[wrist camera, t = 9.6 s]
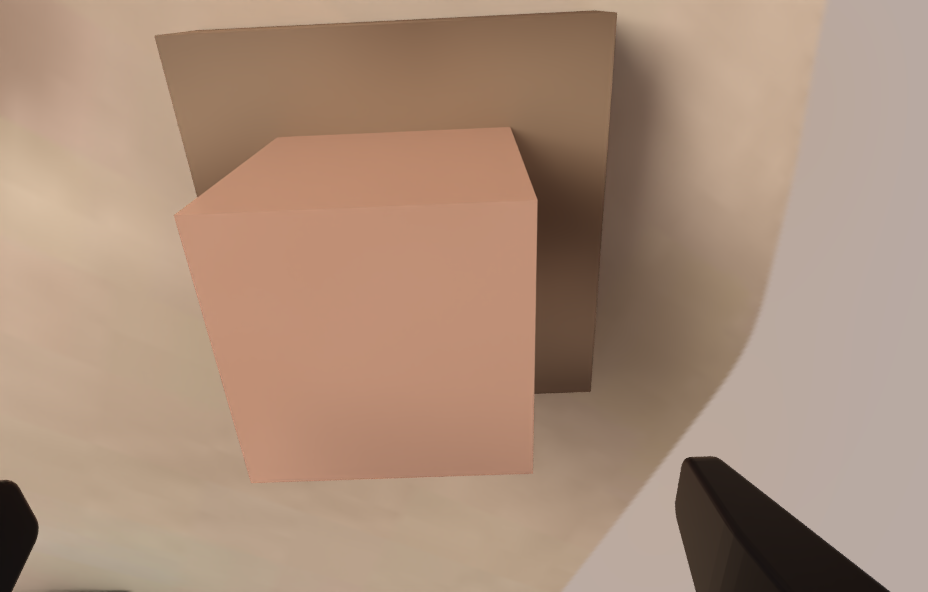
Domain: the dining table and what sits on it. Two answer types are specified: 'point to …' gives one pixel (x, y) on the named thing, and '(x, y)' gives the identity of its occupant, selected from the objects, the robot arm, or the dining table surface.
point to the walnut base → (429, 123)
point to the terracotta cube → (373, 304)
